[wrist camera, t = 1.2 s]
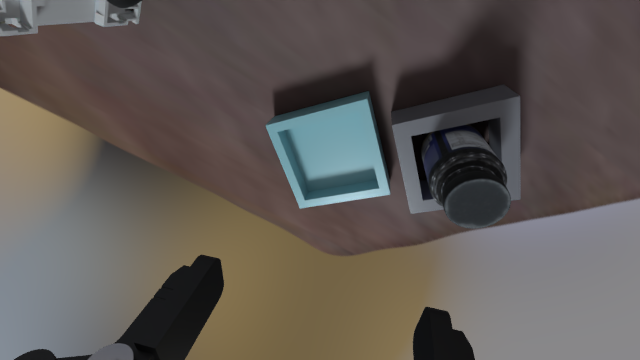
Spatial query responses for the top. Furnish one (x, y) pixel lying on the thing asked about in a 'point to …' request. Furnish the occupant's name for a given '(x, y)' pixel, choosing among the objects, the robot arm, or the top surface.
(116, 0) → the coffeepot
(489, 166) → the pill bottle
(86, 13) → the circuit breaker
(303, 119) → the tray
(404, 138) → the holder
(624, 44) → the top surface
